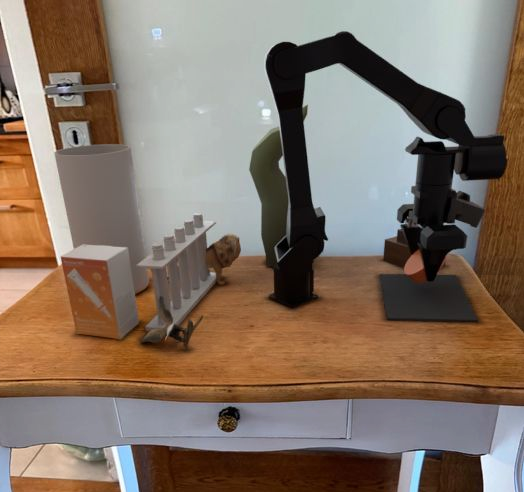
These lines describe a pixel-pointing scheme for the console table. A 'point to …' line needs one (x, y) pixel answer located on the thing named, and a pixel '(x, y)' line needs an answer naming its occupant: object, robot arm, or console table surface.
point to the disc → (416, 268)
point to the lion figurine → (221, 255)
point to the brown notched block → (397, 250)
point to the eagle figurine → (171, 328)
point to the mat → (426, 299)
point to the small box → (101, 290)
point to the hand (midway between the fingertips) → (423, 273)
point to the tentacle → (271, 190)
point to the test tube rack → (180, 270)
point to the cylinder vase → (103, 201)
